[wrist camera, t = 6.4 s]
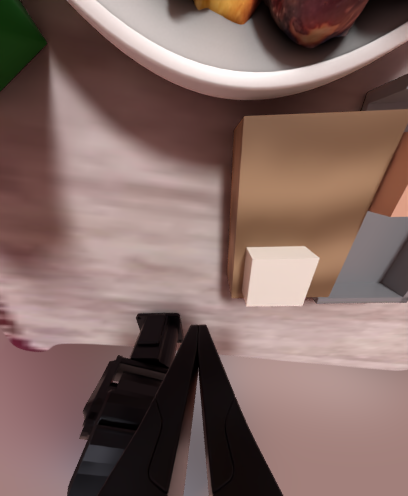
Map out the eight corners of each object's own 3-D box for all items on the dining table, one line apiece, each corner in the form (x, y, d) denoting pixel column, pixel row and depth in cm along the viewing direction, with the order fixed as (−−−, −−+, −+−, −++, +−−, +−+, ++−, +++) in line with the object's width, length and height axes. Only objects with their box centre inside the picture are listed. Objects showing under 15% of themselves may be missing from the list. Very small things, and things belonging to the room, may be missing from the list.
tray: (380, 284, 20) (406, 302, 18) (302, 285, 21) (316, 303, 18) (505, 85, 12) (595, 61, 9) (367, 92, 12) (414, 70, 9)
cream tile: (291, 290, 16) (302, 305, 14) (241, 290, 16) (246, 306, 14) (304, 246, 13) (319, 258, 12) (246, 247, 14) (252, 259, 12)
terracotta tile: (336, 202, 15) (357, 201, 15) (390, 217, 11) (420, 216, 11) (358, 140, 13) (383, 139, 13) (438, 126, 8) (477, 124, 8)
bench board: (306, 273, 20) (328, 297, 16) (227, 274, 20) (231, 298, 16) (356, 125, 13) (414, 108, 9) (233, 129, 13) (244, 116, 9)
